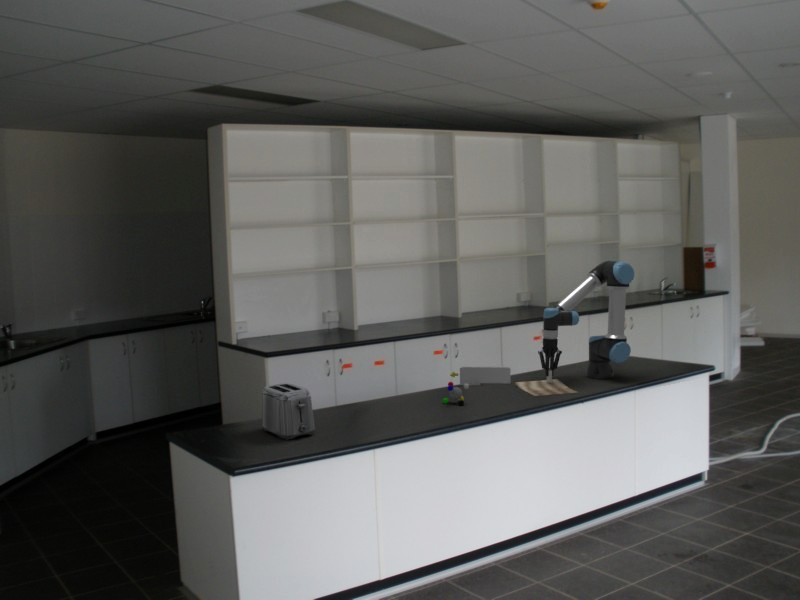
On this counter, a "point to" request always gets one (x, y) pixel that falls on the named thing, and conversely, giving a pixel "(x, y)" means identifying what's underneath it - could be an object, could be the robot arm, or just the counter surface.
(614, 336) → the robot arm
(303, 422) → the toaster
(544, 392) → the floor strip
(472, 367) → the decorative sign
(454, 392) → the molecular model
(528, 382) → the plank
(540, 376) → the counter surface
